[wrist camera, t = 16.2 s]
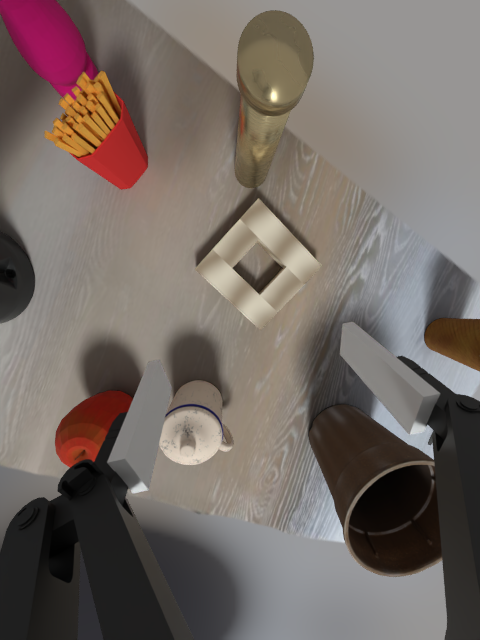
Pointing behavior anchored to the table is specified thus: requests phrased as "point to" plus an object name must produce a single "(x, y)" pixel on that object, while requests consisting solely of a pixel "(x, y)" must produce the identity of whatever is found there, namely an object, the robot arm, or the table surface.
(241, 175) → the gold stepped cylinder
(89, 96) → the french fries
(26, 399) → the table surface
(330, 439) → the plant pot
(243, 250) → the socket block
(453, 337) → the disposable coffee cup
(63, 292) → the table surface
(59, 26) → the pepper mill
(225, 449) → the teacup with lid
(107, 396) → the apple
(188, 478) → the table surface
